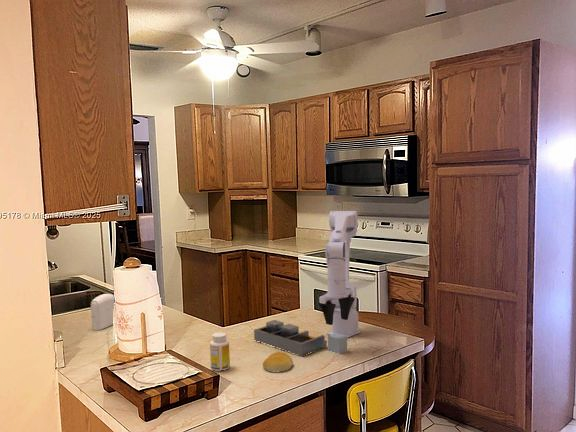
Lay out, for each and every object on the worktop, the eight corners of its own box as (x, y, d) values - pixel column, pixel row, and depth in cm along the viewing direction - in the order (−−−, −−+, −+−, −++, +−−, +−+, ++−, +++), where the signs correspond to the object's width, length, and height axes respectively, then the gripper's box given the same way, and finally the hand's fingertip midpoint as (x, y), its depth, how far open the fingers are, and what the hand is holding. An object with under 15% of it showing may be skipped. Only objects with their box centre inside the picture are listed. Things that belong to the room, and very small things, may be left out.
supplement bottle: (230, 364, 150) (229, 330, 149) (229, 371, 145) (228, 336, 144) (211, 365, 150) (210, 331, 149) (210, 372, 144) (209, 337, 143)
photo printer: (99, 331, 185) (97, 298, 184) (90, 330, 186) (88, 297, 185) (117, 323, 194) (116, 292, 193) (108, 322, 196) (107, 291, 195)
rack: (279, 332, 179) (279, 316, 178) (326, 346, 163) (326, 328, 163) (254, 341, 170) (253, 324, 170) (301, 356, 155) (301, 338, 154)
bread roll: (259, 371, 145) (258, 358, 144) (271, 360, 153) (271, 348, 152) (285, 375, 141) (285, 361, 141) (296, 364, 150) (296, 351, 149)
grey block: (336, 347, 163) (335, 332, 162) (347, 351, 159) (347, 335, 159) (328, 351, 160) (328, 335, 159) (339, 354, 157) (339, 338, 156)
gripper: (331, 284, 150) (331, 329, 151) (360, 277, 160) (361, 319, 161) (314, 281, 155) (314, 324, 156) (343, 275, 165) (343, 315, 166)
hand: (337, 321), depth 159 cm, fingers open, 7 cm apart
